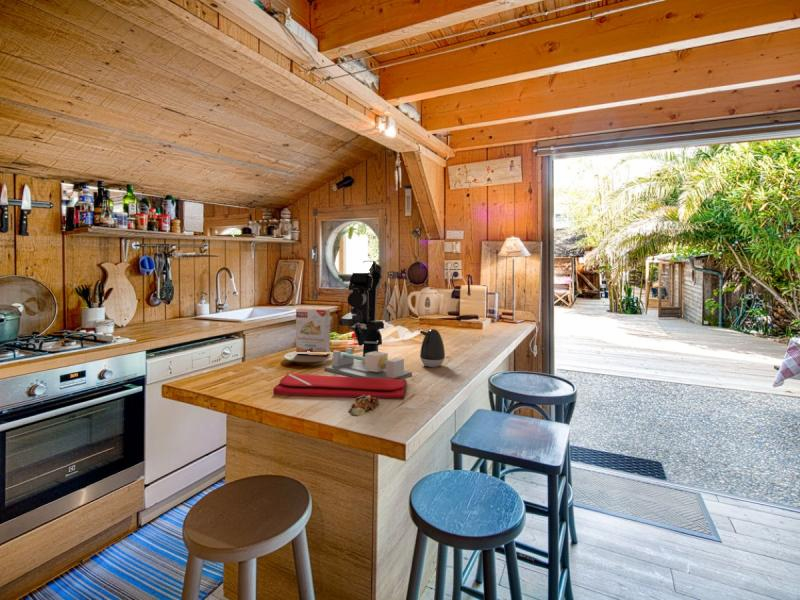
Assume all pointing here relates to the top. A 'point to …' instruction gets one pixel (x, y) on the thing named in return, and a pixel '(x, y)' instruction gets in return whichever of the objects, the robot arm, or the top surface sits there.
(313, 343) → the cracker box
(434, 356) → the pump dispenser
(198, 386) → the top surface
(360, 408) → the pastry
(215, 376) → the top surface
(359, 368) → the board
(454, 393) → the top surface
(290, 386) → the dish drying mat
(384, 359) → the pale teal rod
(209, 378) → the top surface
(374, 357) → the sleeve
